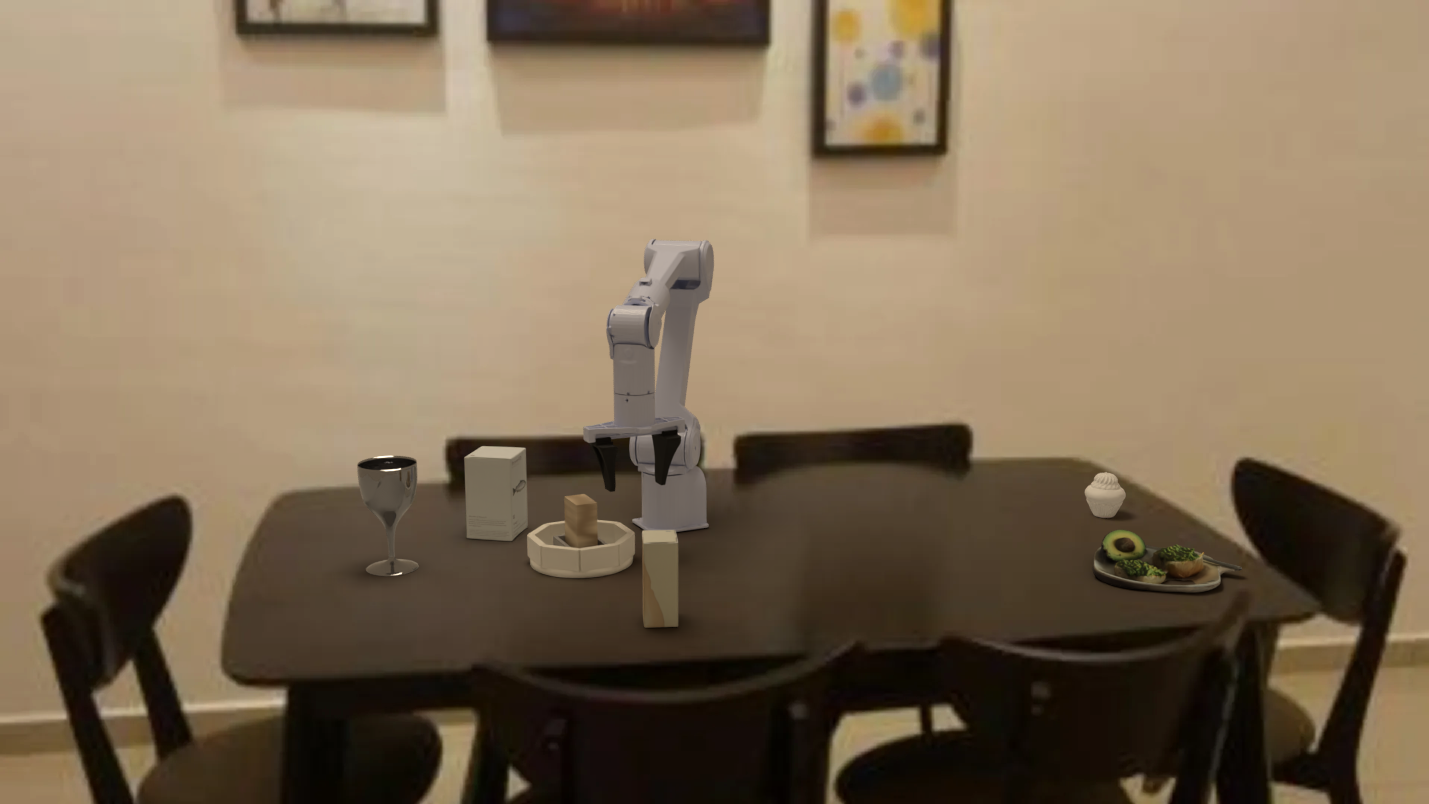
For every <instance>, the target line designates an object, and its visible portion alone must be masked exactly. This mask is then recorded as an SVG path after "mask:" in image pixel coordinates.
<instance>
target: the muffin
mask: <svg viewBox="0 0 1429 804" xmlns="http://www.w3.org/2000/svg"><path fill="white" fill-rule="evenodd" d="M1118 481H1119V479H1118V477H1117V476H1116V475H1115V474H1113V473H1110V472H1107V471H1105V472H1099V473H1097V474H1095V476H1094V478H1093V481H1092V482H1091V483H1090V484H1089V485H1088V486H1087V487H1086V488H1085V489H1084V495H1085V498H1086V499H1085V500H1086V502H1087V505H1088V506H1089V509H1090V511H1091V513H1092V515H1093V516H1094V517H1097V518H1103V519H1106V518H1107V519H1110V518H1115V516H1116V514H1117V513H1118V511H1119V509H1121V506H1122V504H1123V502H1124V500H1125V499H1126V496H1127V495H1126V492H1125V489H1124V488H1122V487H1121V485H1120V483H1119V482H1118Z"/></svg>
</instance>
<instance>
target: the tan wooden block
mask: <svg viewBox="0 0 1429 804" xmlns="http://www.w3.org/2000/svg"><path fill="white" fill-rule="evenodd" d="M563 501H564V504H563V505H564V506H563V507H564V508H563V509H564V521H565V543H566V544H568V545H569V546H570V547H573V548H585V547H592V546H598V532H597V520H598V502H597V501H595V500H594V499H593V498H591V497H589V496H588V495H587V494H585V493H581V494H573V495H572V494H571V495H566V496H565V495H564V496H563Z"/></svg>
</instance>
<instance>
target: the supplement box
mask: <svg viewBox="0 0 1429 804" xmlns="http://www.w3.org/2000/svg"><path fill="white" fill-rule="evenodd" d="M463 460H464V488H465V491H464V492H465V513H466V514H465V519H466V521H465V522H466V526H465V527H466V538H467V539H473V540H485V541H486V540H487V541H502V542H513V541H514V540H515V538H516V537H517V536H518V535H519V534H521V533H522V532H523V531H524V530H526V529H527V528H528V526H529V525H528V524H529V523H528V521H529V520H528V487H527V486H528V483H527V482H528V481H527V480H528V479H527V448H526V447H515V446H486V445H482V446H480V447H478V448H477V449H475V450H474V451H472V452H471V453H469V454H467V455H466V456H464V458H463Z"/></svg>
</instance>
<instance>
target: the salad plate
mask: <svg viewBox="0 0 1429 804" xmlns="http://www.w3.org/2000/svg"><path fill="white" fill-rule="evenodd" d="M1100 544H1101V545H1100V547H1098V548H1097V550H1095V552H1094V555H1093V566H1092V568H1091V569H1092V572H1093V574H1094V576H1095V578H1097V579H1098V580H1100V581H1101V582H1103V583H1105V584H1108V585H1111V586H1114V587H1119V588H1123V589H1129V590H1134V591H1135V590H1136V591H1152V592H1163V593H1164V592H1166V593H1204V592H1207V591H1211V590H1213V589H1216V588H1217V587H1219V586H1220V584H1221V583H1222V582H1221V580H1222V577H1221V576H1222V575H1223V574H1224V573H1227V572H1228V573H1229V572H1239V571H1240V572H1241V571H1242V569H1243V568H1242V566H1240V565H1236V564H1233V563H1232V564H1231V563H1228V562H1224V561H1220V560H1216V559H1213V557H1211V556H1209V555H1206V554H1205V551H1203V552H1202V553H1201V552H1198V551H1195V548H1193V547H1192V548H1189V547H1184V546H1182V545H1178V544H1177V543H1176V544H1174V545H1172V546H1167V547H1158V546H1152V545H1149V544H1146V543H1145V540H1143V538H1142V537H1141V536H1140V535H1138V534H1137V533H1135V532H1133V531H1131V530H1127V529H1115V530H1111V531H1110V532H1108V533H1107V534H1106V535H1104V537H1103V539H1102V542H1101V543H1100ZM1167 581H1191V582H1193V583H1194V584H1186V585H1184V584H1183V585H1181V584H1163V583H1164V582H1167Z"/></svg>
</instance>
